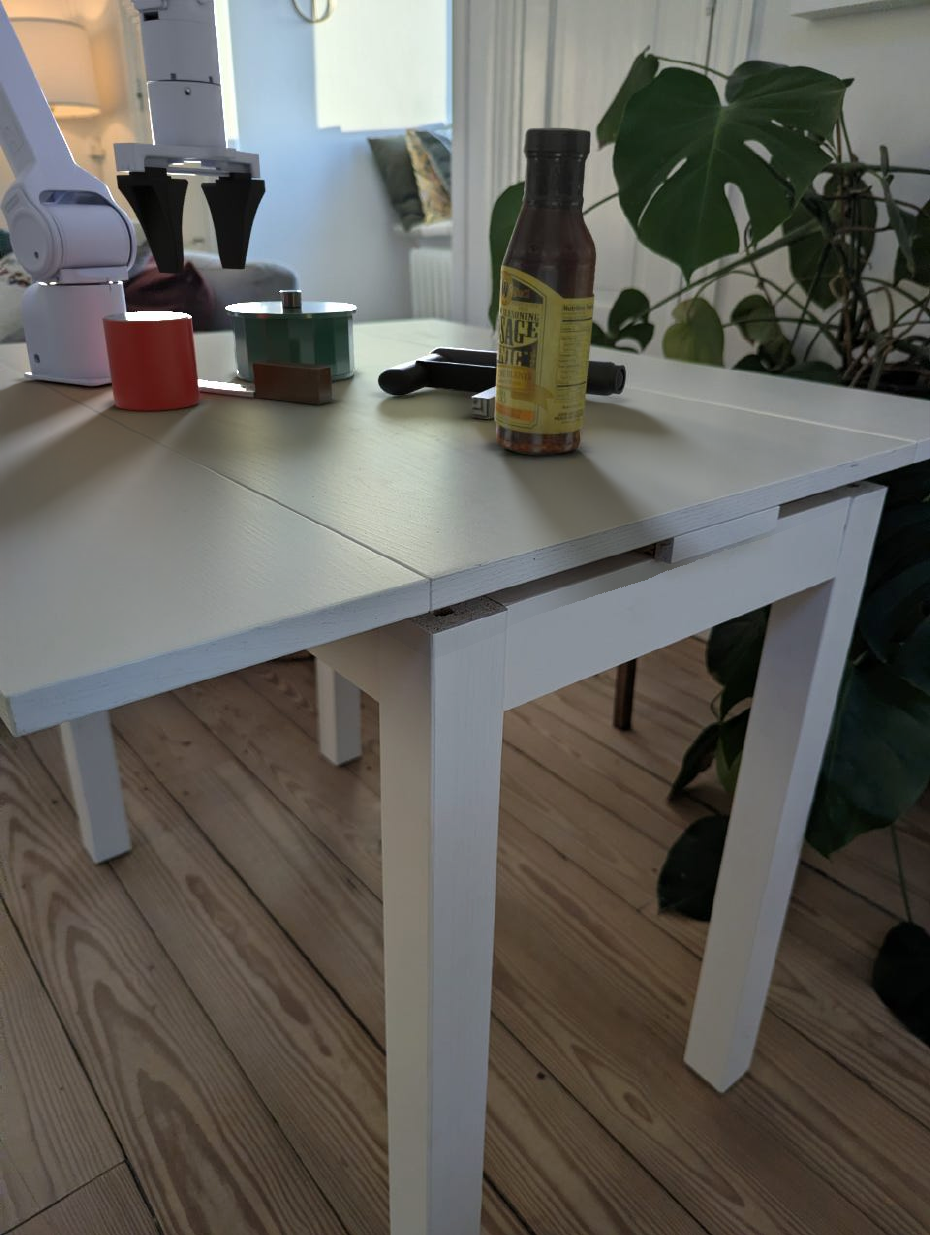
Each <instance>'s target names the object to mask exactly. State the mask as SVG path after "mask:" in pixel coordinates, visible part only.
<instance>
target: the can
mask: <svg viewBox="0 0 930 1235" xmlns="http://www.w3.org/2000/svg"><path fill="white" fill-rule="evenodd" d="M102 320H103V327H104V333H105V340H106V347H107V354H108V361H109V368H110V375H111V381H112V383H111V388H112V394H113V400H114V401H113V402H114V406H115V407H117V408H119V409H122V410H126V411H127V410H128V411H142V412H143V411H145V412H146V411H147V412H148V411H149V412H150V411H151V412H152V411H153V412H154V411H171V410H178V409H185V408H190V407H192V406H195V405H198V404H199V403H201V393H200V392H201V391H199V383H198V380H199V374H198V366H197V365H198V364H197V356H196V345H195V336H194V330H193V329H194V328H193V319H192V316H191V315H190V314H187V313H183V312H173V311H137V312H136V311H135V312H126V313H120V314H112V315H108V316H105V317H104V318H103V319H102Z"/></svg>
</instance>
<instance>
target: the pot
mask: <svg viewBox="0 0 930 1235" xmlns="http://www.w3.org/2000/svg"><path fill="white" fill-rule="evenodd" d="M230 316H231V328H232V338H233V348H234V349H233V350H234V363H235V370H236V373H237V374H236V375H237V378H239V379H240V380H243V381H247V382H252V383H254V378H253V366H252V363H254V362H259V361H264V360H271V361H282V362H292V363H302V364H313V365H323V366H331V377H332V382H337V381H342V380H346V379H348V378H351V377H353V376H354V370H355V348H354V347H355V346H354V324H353V322H354V320H353V314H352V315H347V316H340V317H330V318H313V319H261V318H246V317H237V316H232V315H230Z"/></svg>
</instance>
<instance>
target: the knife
mask: <svg viewBox="0 0 930 1235" xmlns="http://www.w3.org/2000/svg"><path fill="white" fill-rule="evenodd" d="M252 366H253V378H254V382H253V385H245V384H237V383H227V382H218V381H208V380H203V379H198V383H199V392H202V393H209V394H218V395H219V394H220V395H225V396H226V395H228V396H236V397H245V398H253V399H254V398H256V399H267V400H275V401H281V402H290V403H300V404H307V405H308V404H309V405H316V406H320V405H324V404H328V403H331V402H333V401H334V398H333V381H332V377H331V366H323V365H313V364H302V363H292V362H282V361H271V360H264V361H259V362H254V363H252Z"/></svg>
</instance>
